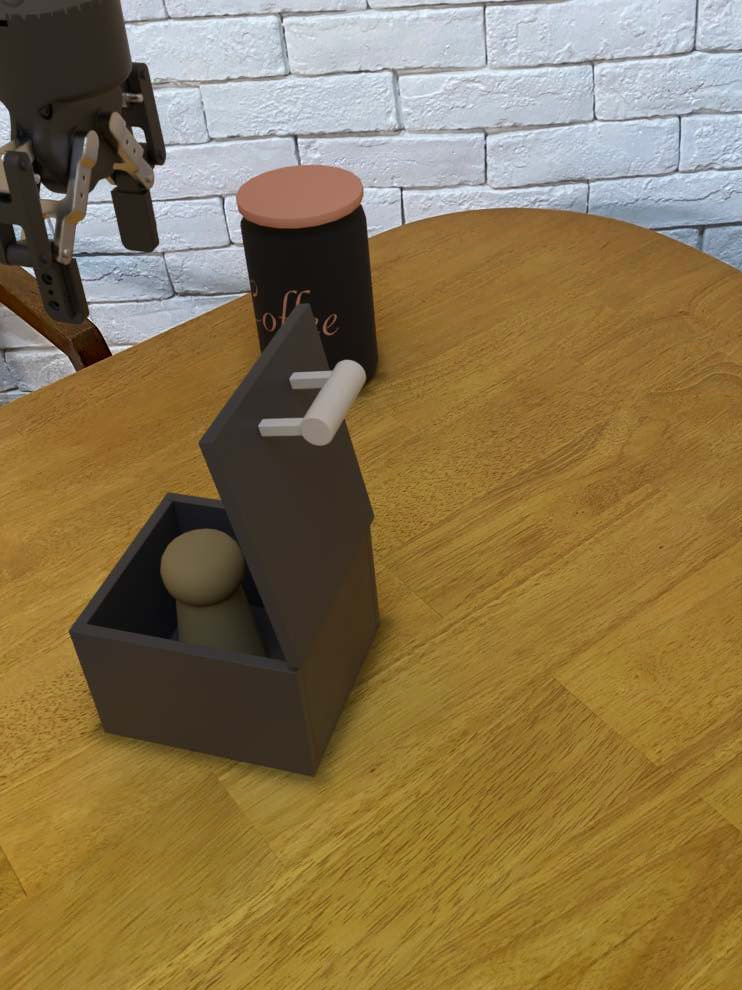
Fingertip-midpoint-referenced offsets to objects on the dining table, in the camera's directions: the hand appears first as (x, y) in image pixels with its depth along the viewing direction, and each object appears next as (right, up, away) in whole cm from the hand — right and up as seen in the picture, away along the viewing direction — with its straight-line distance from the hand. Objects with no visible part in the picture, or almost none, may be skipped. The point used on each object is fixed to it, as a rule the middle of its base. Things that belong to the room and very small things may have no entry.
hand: (107, 282), depth 66 cm
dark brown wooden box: (+7, -24, +11) cm, 28 cm away
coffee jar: (+10, 0, +40) cm, 41 cm away
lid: (+11, -12, -2) cm, 16 cm away
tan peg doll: (+5, -24, +11) cm, 27 cm away
